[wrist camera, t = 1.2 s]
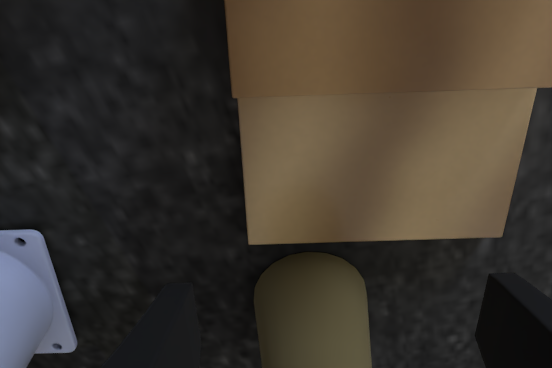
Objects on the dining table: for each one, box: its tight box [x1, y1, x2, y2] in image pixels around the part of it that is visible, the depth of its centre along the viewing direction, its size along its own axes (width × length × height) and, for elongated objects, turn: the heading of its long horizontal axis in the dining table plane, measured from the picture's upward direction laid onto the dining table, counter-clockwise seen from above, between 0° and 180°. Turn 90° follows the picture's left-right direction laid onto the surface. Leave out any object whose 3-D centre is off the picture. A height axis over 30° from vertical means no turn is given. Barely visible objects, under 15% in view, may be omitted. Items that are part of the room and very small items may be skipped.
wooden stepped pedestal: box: [224, 0, 552, 245], centre depth 16 cm, size 12×16×6 cm
